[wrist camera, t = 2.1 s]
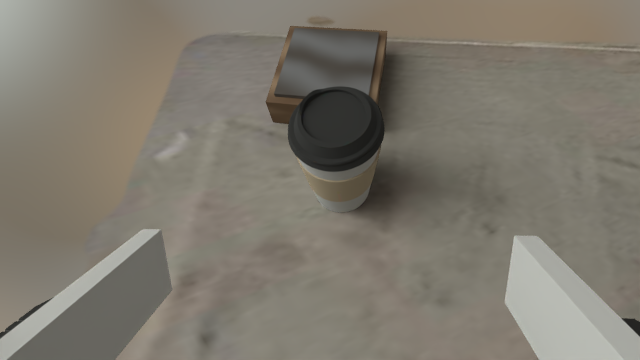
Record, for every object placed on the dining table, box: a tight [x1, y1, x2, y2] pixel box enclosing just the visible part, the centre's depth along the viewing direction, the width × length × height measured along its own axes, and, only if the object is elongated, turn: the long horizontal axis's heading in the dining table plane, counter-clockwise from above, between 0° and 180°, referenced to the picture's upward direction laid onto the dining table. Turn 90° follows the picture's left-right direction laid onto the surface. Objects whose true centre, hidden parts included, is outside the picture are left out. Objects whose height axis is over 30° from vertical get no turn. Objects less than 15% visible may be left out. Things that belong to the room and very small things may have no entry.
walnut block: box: [266, 26, 387, 124], centre depth 50 cm, size 14×14×5 cm
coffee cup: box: [288, 86, 384, 213], centre depth 38 cm, size 9×9×15 cm
